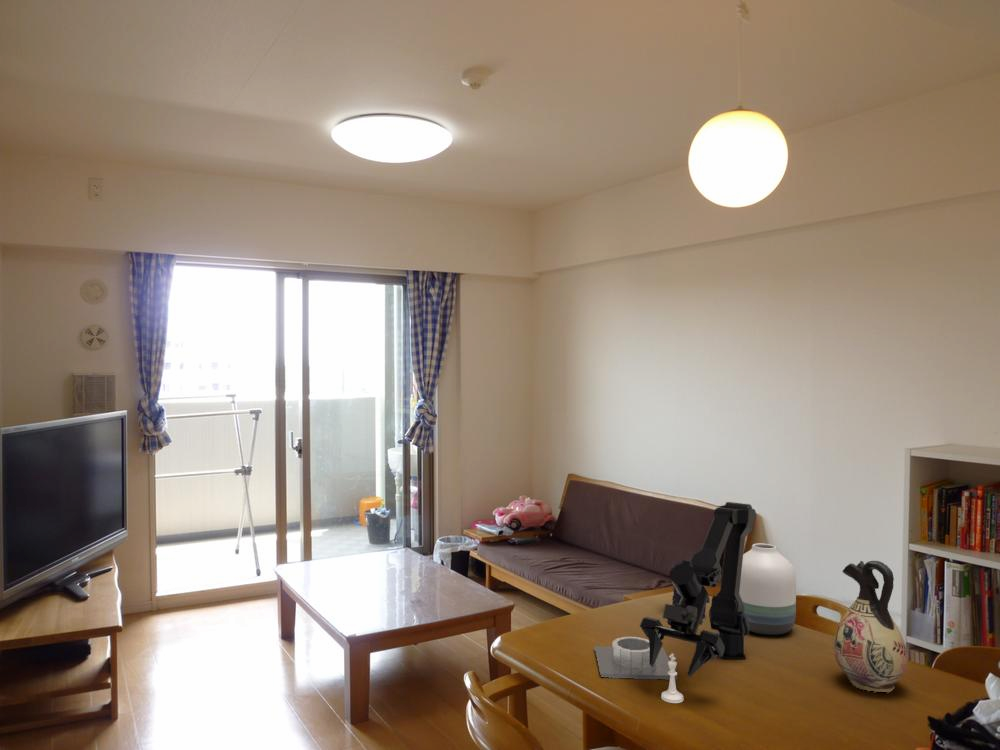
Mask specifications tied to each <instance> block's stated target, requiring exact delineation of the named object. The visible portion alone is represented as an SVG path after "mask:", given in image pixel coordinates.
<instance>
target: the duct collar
mask: <svg viewBox="0 0 1000 750" xmlns="http://www.w3.org/2000/svg"><path fill="white" fill-rule="evenodd" d="M611 644H612V646H609V645H604V646H602V645H595V646H594V653H595V652H596V653H595V656H596V657H597V658H596V662H597V661H598V662H597V667H598V666H599V667H598V671H599V675H601V676H600V678H601V677H609V678H608V679H619V678H634V679H633V680H657V679H662V680H661V681H664V680H663V679H665V681H670V675H669V674H668V671H670V668H669V665H668V661H671V659H670V657H669V655H668V654H667V652H666V650H665V648H664V647H661V649H660V652H659V654H658V656H657V659H656V661H655V663H654V664H653V666H651V665H650V663H649V662H650V645H649V638H648V639H647V638H643V637H639V636H622V637H617V638H615V639H614V640H613V641H612V643H611ZM611 677H612V678H611ZM675 681H678V674H677V675H675Z"/></svg>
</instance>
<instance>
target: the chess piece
mask: <svg viewBox="0 0 1000 750" xmlns="http://www.w3.org/2000/svg"><path fill="white" fill-rule="evenodd" d="M668 658H669V659H670V661H668V665H669V668H670V671H668V674H669V675H670V680H669V684H668V688H667V690H665V691H664V690H663V691H662V692H661V696H660V698H661V700H662V701H664V702H665V703H666V702H667V703H670V704H680V703H682V702H683V701H684V695H683V694H682V693H681V692H680V691H678V690H677V685H676V680H675V675H677V676H678V672H677V671H676V667H677V665H678V662H677V661H675V660H676V659H677V658H676V656H675V653H673V652H671V653H670V654H669V655H668Z"/></svg>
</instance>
